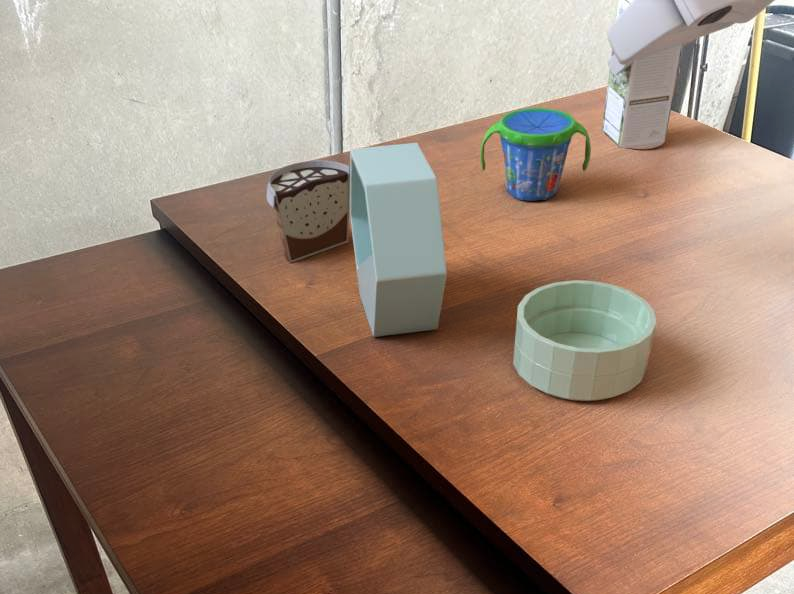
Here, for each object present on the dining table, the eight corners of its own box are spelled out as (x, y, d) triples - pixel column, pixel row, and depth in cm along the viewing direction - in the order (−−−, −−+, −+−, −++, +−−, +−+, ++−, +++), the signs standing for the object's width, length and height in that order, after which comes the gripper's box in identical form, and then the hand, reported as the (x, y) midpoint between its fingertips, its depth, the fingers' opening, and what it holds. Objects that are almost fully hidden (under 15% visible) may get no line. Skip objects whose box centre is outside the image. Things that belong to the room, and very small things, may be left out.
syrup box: (665, 144, 100) (693, -1, 89) (617, 150, 99) (639, 5, 88) (645, 126, 104) (669, -14, 93) (598, 132, 103) (617, -9, 92)
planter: (365, 339, 109) (342, 166, 105) (425, 332, 110) (405, 160, 106) (382, 334, 93) (357, 128, 88) (453, 325, 94) (431, 121, 89)
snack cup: (474, 204, 126) (477, 131, 118) (483, 174, 133) (487, 104, 126) (583, 211, 123) (593, 137, 116) (586, 181, 130) (596, 109, 123)
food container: (332, 223, 122) (327, 151, 115) (357, 239, 119) (353, 165, 112) (257, 249, 117) (246, 175, 110) (280, 266, 114) (271, 191, 107)
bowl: (640, 334, 100) (650, 283, 96) (649, 408, 90) (661, 355, 86) (515, 328, 102) (519, 277, 97) (510, 400, 92) (515, 347, 87)
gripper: (786, -80, 87) (684, 12, 100) (659, -44, 78) (565, 52, 91) (812, -21, 88) (708, 63, 100) (690, 21, 79) (592, 108, 91)
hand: (639, 58), depth 95 cm, fingers closed on syrup box, 7 cm apart
